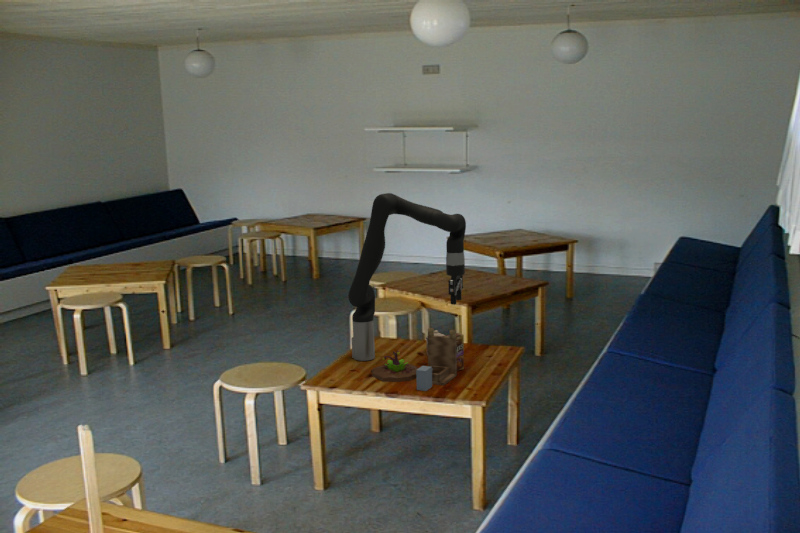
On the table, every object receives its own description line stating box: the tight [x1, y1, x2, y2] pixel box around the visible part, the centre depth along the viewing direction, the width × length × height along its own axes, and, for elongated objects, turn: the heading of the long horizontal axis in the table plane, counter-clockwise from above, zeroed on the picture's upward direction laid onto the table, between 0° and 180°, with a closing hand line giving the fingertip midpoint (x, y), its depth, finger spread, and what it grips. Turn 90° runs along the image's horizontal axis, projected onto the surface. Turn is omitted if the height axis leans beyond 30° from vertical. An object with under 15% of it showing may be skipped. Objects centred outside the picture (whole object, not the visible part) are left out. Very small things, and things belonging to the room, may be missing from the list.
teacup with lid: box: [425, 329, 446, 356], centre depth 335 cm, size 12×9×12 cm
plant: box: [370, 350, 419, 383], centre depth 310 cm, size 20×20×11 cm
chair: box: [415, 327, 458, 386], centre depth 303 cm, size 12×14×19 cm
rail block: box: [416, 365, 433, 392], centre depth 293 cm, size 4×7×8 cm, turn 155°
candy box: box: [445, 332, 465, 372], centre depth 314 cm, size 9×4×15 cm, turn 123°
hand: (456, 302), depth 308 cm, fingers open, 8 cm apart
